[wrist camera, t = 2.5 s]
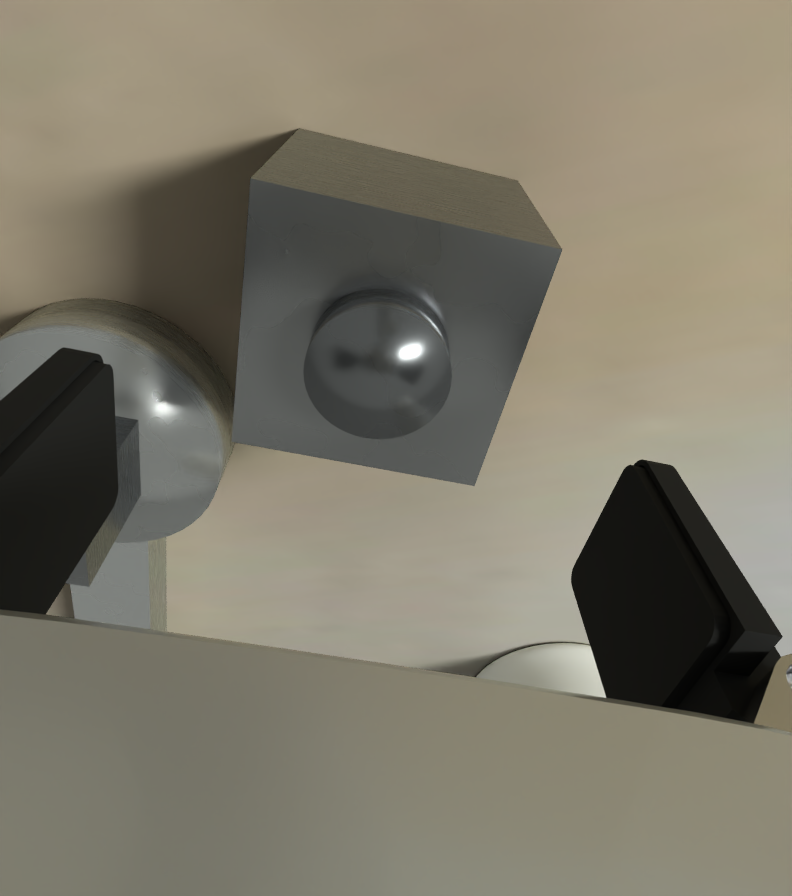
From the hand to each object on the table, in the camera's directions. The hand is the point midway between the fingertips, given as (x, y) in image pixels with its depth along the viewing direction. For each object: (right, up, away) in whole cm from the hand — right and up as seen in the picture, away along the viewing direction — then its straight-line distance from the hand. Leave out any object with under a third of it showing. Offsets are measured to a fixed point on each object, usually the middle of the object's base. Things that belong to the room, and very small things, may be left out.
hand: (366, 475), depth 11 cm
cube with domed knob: (0, +6, +7) cm, 9 cm away
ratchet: (-11, -4, +14) cm, 18 cm away
